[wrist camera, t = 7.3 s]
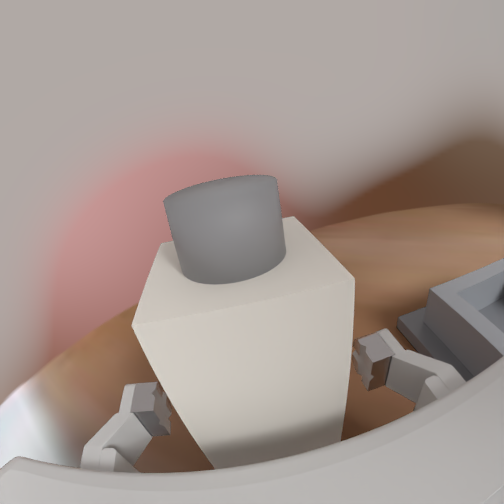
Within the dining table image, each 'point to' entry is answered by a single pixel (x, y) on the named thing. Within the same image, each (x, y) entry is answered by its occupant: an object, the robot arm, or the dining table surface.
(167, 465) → the dining table surface
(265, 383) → the spigot peg
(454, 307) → the socket dock
